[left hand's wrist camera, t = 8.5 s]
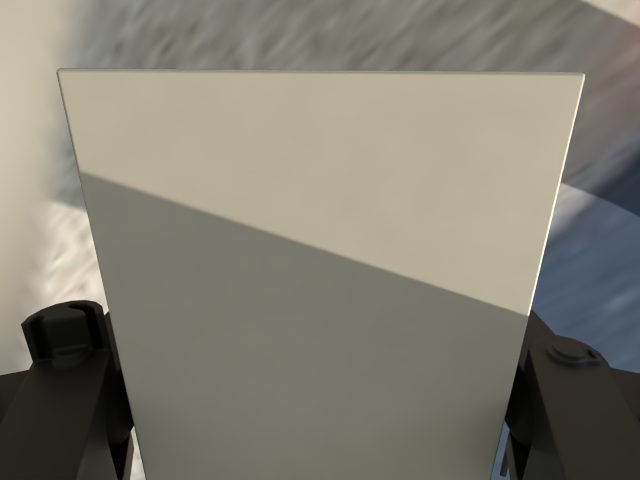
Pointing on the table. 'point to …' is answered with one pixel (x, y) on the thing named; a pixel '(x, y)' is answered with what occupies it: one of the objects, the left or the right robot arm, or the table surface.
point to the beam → (319, 260)
